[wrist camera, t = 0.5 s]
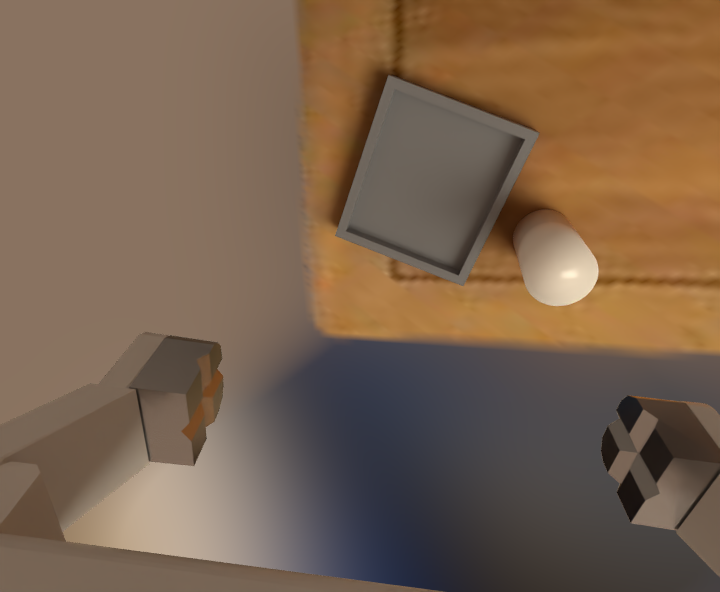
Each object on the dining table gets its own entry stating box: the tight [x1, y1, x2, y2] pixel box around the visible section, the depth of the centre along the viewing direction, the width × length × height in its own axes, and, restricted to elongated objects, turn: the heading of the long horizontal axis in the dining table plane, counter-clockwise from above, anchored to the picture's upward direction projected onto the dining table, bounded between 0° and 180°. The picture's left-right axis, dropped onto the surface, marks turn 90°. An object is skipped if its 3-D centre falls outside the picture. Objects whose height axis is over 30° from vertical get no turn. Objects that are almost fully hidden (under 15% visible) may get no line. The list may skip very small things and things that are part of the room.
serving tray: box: [335, 75, 539, 286], centre depth 52 cm, size 18×16×2 cm
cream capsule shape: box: [513, 209, 598, 306], centre depth 49 cm, size 6×6×11 cm
